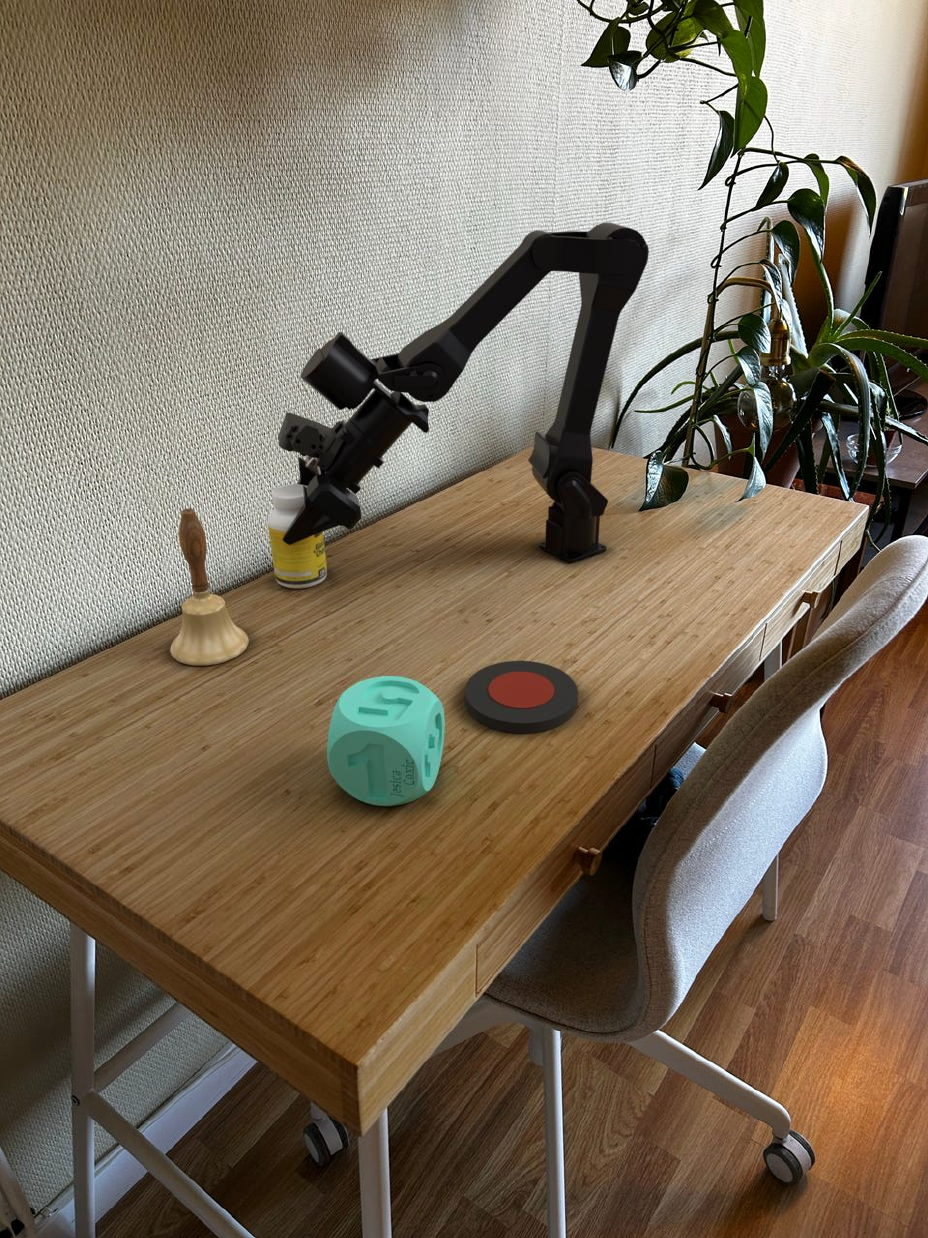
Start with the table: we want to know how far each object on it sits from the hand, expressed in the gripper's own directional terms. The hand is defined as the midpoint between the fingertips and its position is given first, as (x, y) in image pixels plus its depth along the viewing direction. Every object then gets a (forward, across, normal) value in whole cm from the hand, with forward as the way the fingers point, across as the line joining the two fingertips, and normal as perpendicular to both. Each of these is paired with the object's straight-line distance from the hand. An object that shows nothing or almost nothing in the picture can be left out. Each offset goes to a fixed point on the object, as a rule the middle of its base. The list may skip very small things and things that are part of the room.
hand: (284, 531), depth 110 cm
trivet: (-10, +32, +19) cm, 39 cm away
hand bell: (+11, +14, -2) cm, 19 cm away
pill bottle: (+4, 0, +6) cm, 7 cm away
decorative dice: (0, +41, +10) cm, 42 cm away
